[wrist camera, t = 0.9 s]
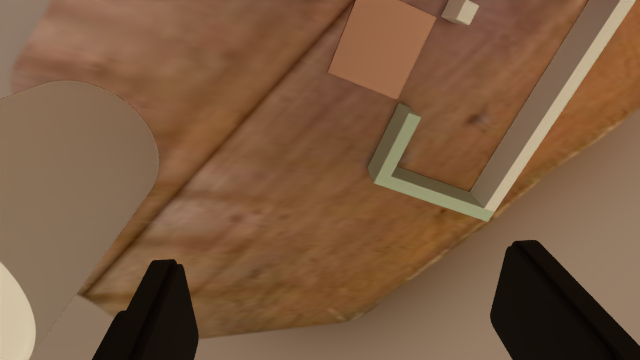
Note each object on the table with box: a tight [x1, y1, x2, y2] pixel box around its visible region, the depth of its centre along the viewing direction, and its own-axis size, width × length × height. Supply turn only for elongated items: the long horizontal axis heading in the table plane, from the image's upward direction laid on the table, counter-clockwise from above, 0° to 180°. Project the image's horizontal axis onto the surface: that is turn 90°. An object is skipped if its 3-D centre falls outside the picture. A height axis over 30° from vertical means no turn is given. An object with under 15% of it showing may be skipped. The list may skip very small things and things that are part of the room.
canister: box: [0, 80, 159, 360], centre depth 27 cm, size 14×14×20 cm
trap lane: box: [368, 0, 636, 222], centre depth 33 cm, size 29×13×4 cm, turn 158°
